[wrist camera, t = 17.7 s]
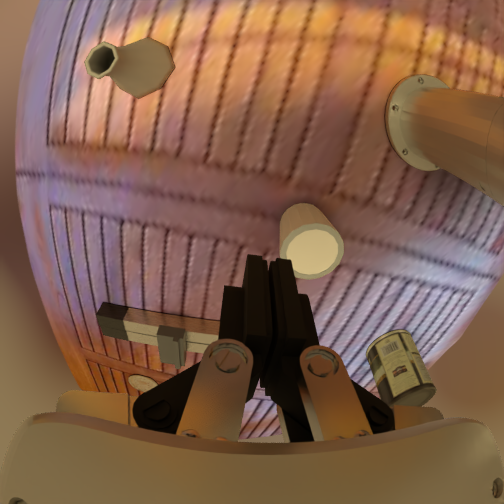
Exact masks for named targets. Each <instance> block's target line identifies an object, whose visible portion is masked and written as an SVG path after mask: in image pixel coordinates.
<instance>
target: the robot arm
mask: <svg viewBox="0 0 504 504" xmlns="http://www.w3.org/2000/svg"><path fill="white" fill-rule="evenodd" d="M392 107H393V109H392ZM385 122H386V129H387V134H388V137H389V140H390V142H391V145H392V146H393V148H394V150H395V151H396V153H397V154H398V155H399V156H400V157H401V159H402V160H404V161H405V162H406V163H408V164H409V165H411V166H413V167H414V168H417V169H420V170H423V171H434V170H438V169H441V168H442V169H444V170H446V171H447V172H449V173H451V174H453V175H454V176H456V177H458V178H460V179H461V180H463V181H465V182H466V183H468V184H470V185H471V186H473V187H475V188H476V189H478V190H479V191H481V192H482V193H484V194H486V195H487V196H489V197H490V198H492V199H493V200H495V201H496V202H497V203H499V204H500V205H502V206H503V207H504V97H500V96H495V95H489V94H484V93H478V92H471V91H464V90H457V89H450V88H449V87H448V86H447V85H446V84H445V83H444V82H442V81H441V80H439V79H437V78H435V77H433V76H429V75H412V76H409V77H406V78H404V79H403V80H401V81H400V82H399V83H398V84H397V85H396V86H395V87H394V89H393V90H392V92H391V94H390V96H389V98H388V101H387V105H386V113H385ZM402 151H403V152H402ZM259 378H260V387H261V388H265V396H271V400H272V401H274V402H275V403H276V404H277V413H278V417H279V422H280V426H281V430H282V434H283V438H284V443H251V442H250V443H249V442H238V438H239V433H240V428H241V423H242V418H243V413H244V408H245V403H247V402H248V401H249V400H251V399H252V398H253V395H254V392H255V389H256V387H257V384H258V381H259ZM0 504H504V467H503V464H502V460H501V456H500V453H499V450H498V447H497V445H496V442H495V440H494V437H493V435H492V434H491V431H490V430H489V428H488V427H487V426H486V425H485V424H484V423H482V422H480V421H478V420H474V419H469V418H461V417H457V418H447V419H444V418H443V415H442V414H441V412H440V411H439V410H437V409H436V408H433V407H418V406H402V405H393V406H392V407H389V406H388V405H387V404H386V403H385V402H383V401H382V400H380V399H379V398H377V397H376V396H374V395H373V394H372V393H370V392H369V391H367V390H366V389H364V388H363V387H361V386H360V385H358V384H357V383H356V382H354V381H353V380H351V379H350V377H349V375H348V372H347V370H346V368H345V365H344V363H343V361H342V359H341V358H340V356H339V355H338V354H337V353H336V352H335V351H334V350H332V349H330V348H328V347H325V346H320V345H319V341H318V336H317V332H316V327H315V323H314V318H313V314H312V310H311V306H310V301H309V298H308V295H307V294H298V290H297V285H296V280H295V275H294V271H293V266H292V261H291V260H290V259H282V258H276V261H271V262H270V266H269V270H268V265H267V260H262V256H258V255H250V254H248V255H247V261H246V267H245V273H244V279H243V285H242V287H233V286H225V285H224V293H223V301H222V309H221V318H220V326H219V335H218V340H217V341H214V342H212V343H211V344H210V345H208V346H207V348H206V350H205V351H204V354H203V357H202V360H201V361H200V362H199V363H197V364H195V365H193V366H192V367H190V368H188V369H186V370H185V371H183V372H181V373H179V374H178V375H176V376H174V377H172V378H170V379H169V380H167V381H165V382H163V383H161V384H159V385H158V386H156V387H154V388H152V389H150V390H148V391H146V392H144V393H143V394H141V395H140V396H129V395H128V394H126V393H105V392H91V391H80V390H69V391H67V392H65V393H63V394H62V395H61V396H60V397H59V399H58V402H57V406H56V412H48V413H41V414H35V415H32V416H30V417H28V418H27V419H25V420H24V421H23V422H22V423H21V424H20V426H19V427H18V428H17V430H16V432H15V434H14V436H13V438H12V440H11V442H10V444H9V446H8V449H7V452H6V454H5V457H4V460H3V464H2V467H1V471H0Z"/></svg>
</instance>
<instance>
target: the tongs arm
mask: <svg viewBox="0 0 504 504" xmlns="http://www.w3.org/2000/svg"><path fill="white" fill-rule="evenodd" d="M96 316H97V319H98V322H99V325H101V326H105V327H109V328H114V329H118V330H123V331H131V332H136V333H142V334H147V335H152V336H157V335H156V334H157V331H158V328H159V325H164V326H170V327H176V328H183V329H185V332H186V341H190V342H197V343H205V344H211V343H212V342H214V341H217V340H218V335H219V326H220V321H213V320H205V319H197V318H190V317H183V316H176V315H169V314H163V313H157V312H151V311H145V310H139V309H133V308H129V307H124V306H119V305H113V304H108V303H104V302H103V303H102V305H101V307H100V308H99V310H98V312H97V314H96Z"/></svg>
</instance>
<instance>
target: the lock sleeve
mask: <svg viewBox="0 0 504 504" xmlns="http://www.w3.org/2000/svg"><path fill="white" fill-rule="evenodd" d="M156 335H157V342H158V348H159V354H160V360H161V362H163V363H168V364H174V365H175V368H177V369H180V368H181V366H185V362H186V332H185V329H183V328H176V327H170V326H164V325H159V328H158V331H157V334H156Z"/></svg>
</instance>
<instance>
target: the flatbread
mask: <svg viewBox="0 0 504 504" xmlns="http://www.w3.org/2000/svg"><path fill="white" fill-rule="evenodd" d="M129 383H130V384H131V385H132V386H133V387H134V388H135V389H138V390H141V391H143V392H146V391H148V390H150V389H152V388H154V387H156V386H158V384H157V383H156V382H155V381H154V380H152V379H151V378H148V377H145V376H141V375H132V376H130V377H129Z"/></svg>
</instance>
